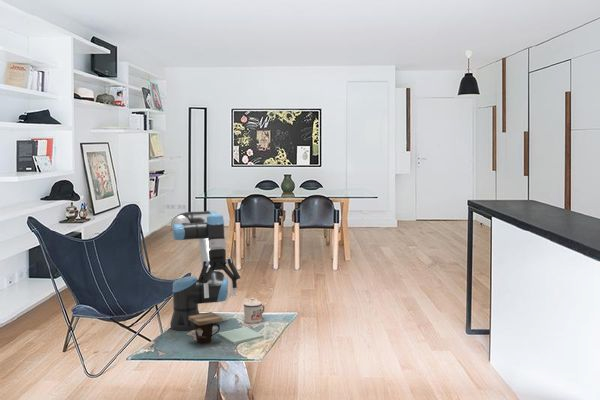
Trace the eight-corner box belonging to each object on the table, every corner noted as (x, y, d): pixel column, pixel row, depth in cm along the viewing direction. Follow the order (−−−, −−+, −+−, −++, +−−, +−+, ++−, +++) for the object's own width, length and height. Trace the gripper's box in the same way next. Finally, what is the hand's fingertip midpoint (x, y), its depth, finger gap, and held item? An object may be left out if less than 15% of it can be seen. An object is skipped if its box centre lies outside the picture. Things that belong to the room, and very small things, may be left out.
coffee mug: (190, 341, 260) (189, 319, 259) (207, 337, 266) (206, 315, 265) (205, 348, 251) (204, 325, 250) (221, 343, 257) (221, 320, 256)
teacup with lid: (252, 325, 282) (251, 301, 281) (240, 321, 289) (239, 298, 288) (270, 319, 291) (270, 296, 290) (258, 316, 297) (258, 293, 296)
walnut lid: (188, 319, 259) (188, 316, 259) (211, 315, 265) (211, 311, 265) (199, 325, 250) (199, 322, 250) (222, 320, 256) (222, 317, 256)
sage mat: (217, 335, 268) (217, 333, 268) (246, 328, 277) (245, 326, 276) (234, 344, 255) (234, 342, 255) (263, 337, 263) (263, 335, 263)
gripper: (188, 251, 264) (191, 299, 261) (237, 246, 255) (240, 295, 252) (197, 251, 271) (200, 298, 268) (245, 246, 262) (248, 294, 259)
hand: (220, 297), depth 260 cm, fingers open, 13 cm apart
